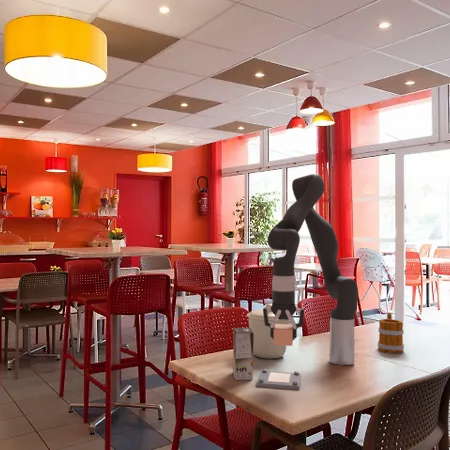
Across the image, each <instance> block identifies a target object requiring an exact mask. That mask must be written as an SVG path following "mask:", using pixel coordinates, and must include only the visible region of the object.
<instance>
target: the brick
mask: <svg viewBox="0 0 450 450" xmlns="http://www.w3.org/2000/svg"><path fill="white" fill-rule="evenodd" d="M293 343H294V340H293V326H292V324H290V323H289V324H275V327H274V345H284V346H286V347H289V346H290V347H293Z"/></svg>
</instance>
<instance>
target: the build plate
mask: <svg viewBox="0 0 450 450" xmlns="http://www.w3.org/2000/svg"><path fill="white" fill-rule="evenodd" d="M301 380H302V373H300V371H297V370H296V371H293V372H286V371H285V372H284V371H275V370H274V371H271V370H270V371H269V370H267V368H262V370H260V371H259V375H258V378H257V379H256V383H255V386H256V387H257V388H258V387H259V388H270V389H271V388H272V389H282V390H283V389H285V390H296V391H297V390H298V391H300V387H301Z"/></svg>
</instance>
